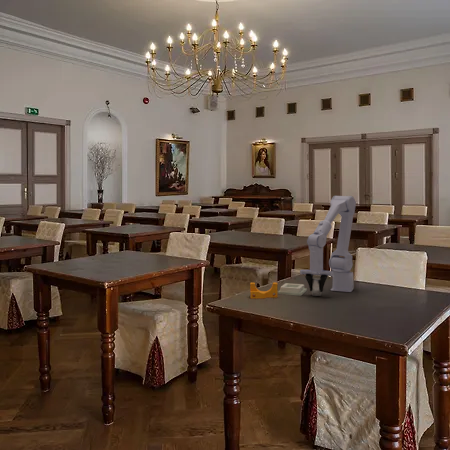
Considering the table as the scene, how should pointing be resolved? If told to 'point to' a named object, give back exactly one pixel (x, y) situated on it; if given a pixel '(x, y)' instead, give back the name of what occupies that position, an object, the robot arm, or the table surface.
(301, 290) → the socket
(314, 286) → the grey cylinder
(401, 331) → the table surface
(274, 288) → the pipe clamp
